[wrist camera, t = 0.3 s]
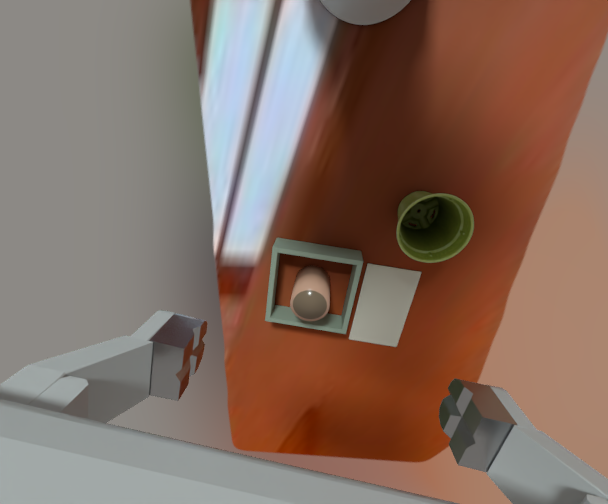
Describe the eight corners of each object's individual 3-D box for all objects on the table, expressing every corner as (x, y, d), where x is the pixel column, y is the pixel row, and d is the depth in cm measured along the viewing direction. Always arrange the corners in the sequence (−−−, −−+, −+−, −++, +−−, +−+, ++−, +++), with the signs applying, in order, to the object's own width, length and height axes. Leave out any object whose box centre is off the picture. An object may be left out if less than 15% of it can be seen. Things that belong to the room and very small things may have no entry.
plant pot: (436, 244, 49) (456, 269, 41) (378, 232, 49) (387, 255, 41) (459, 187, 45) (487, 202, 37) (396, 174, 45) (410, 186, 37)
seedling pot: (297, 262, 52) (292, 285, 45) (332, 268, 52) (332, 291, 45) (293, 292, 54) (288, 317, 48) (326, 297, 54) (326, 324, 47)
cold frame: (277, 237, 50) (272, 246, 47) (361, 250, 50) (363, 261, 46) (269, 307, 56) (265, 320, 53) (344, 319, 56) (345, 334, 52)
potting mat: (367, 263, 51) (367, 263, 51) (421, 271, 51) (421, 272, 50) (348, 338, 57) (348, 339, 57) (396, 346, 57) (396, 347, 57)
